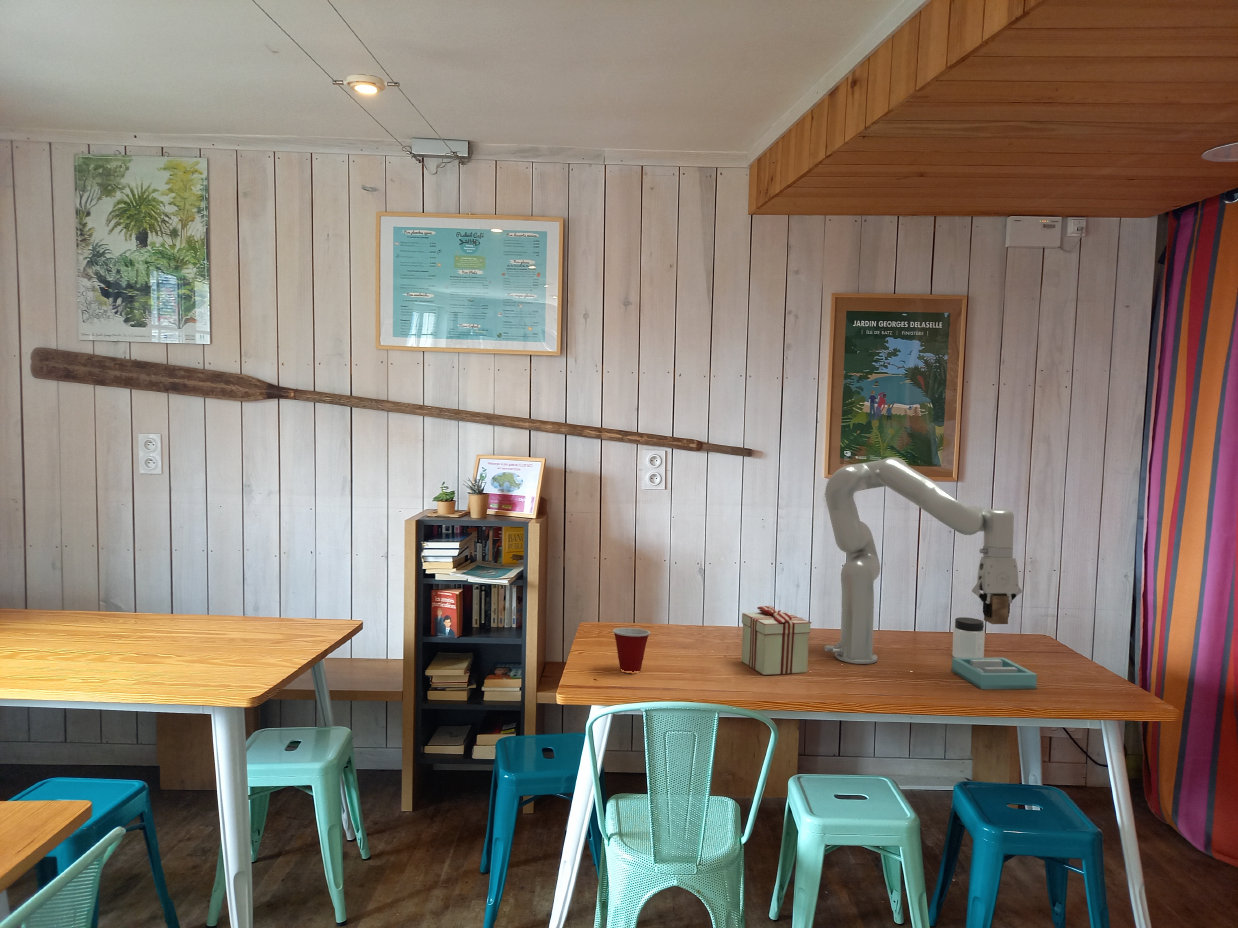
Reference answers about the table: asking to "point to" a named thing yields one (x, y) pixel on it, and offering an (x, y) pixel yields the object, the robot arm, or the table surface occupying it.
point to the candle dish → (994, 673)
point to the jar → (968, 638)
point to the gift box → (775, 641)
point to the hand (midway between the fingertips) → (996, 615)
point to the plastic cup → (631, 647)
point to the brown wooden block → (999, 609)
